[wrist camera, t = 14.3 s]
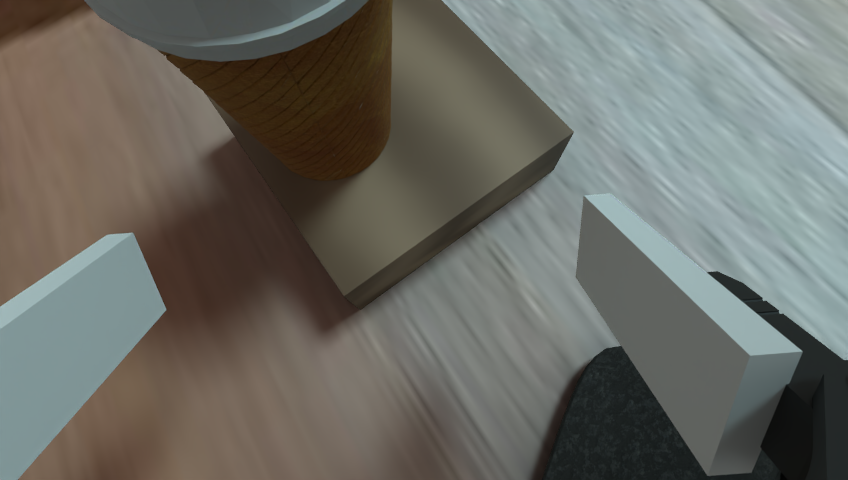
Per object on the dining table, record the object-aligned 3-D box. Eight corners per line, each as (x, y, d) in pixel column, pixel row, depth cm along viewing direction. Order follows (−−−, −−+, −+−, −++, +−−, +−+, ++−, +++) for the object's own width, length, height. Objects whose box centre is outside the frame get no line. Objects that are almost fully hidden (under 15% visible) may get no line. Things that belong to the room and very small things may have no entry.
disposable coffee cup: (319, 250, 20) (156, 78, 8) (205, 128, 22) (-44, -136, 11) (460, 125, 22) (483, -154, 10) (341, 24, 24) (250, -294, 13)
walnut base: (415, 24, 29) (412, -29, 25) (553, 169, 25) (573, 131, 21) (238, 133, 27) (205, 92, 23) (360, 309, 23) (344, 296, 19)
